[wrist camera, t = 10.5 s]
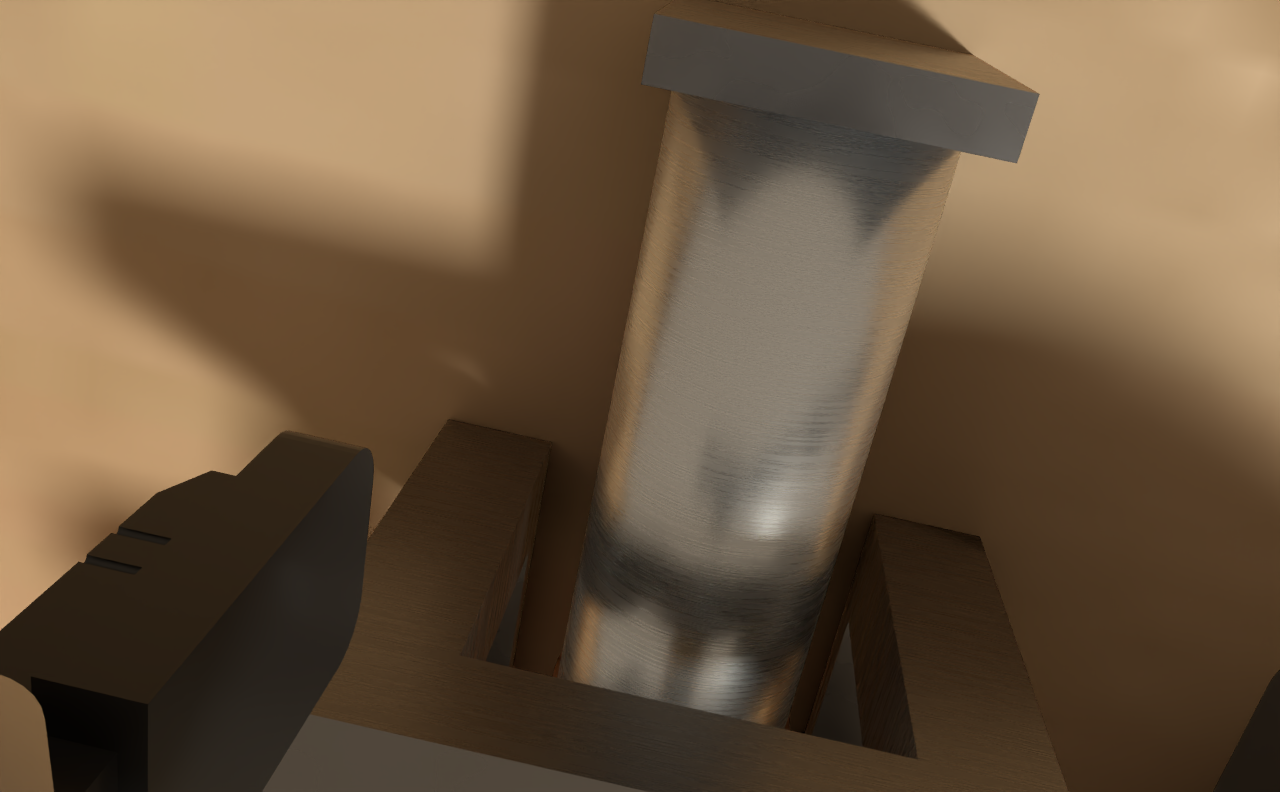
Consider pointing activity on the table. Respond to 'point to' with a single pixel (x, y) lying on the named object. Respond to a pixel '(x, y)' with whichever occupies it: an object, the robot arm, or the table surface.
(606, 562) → the tube
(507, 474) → the hollow square frame
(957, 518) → the table surface
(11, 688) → the robot arm
